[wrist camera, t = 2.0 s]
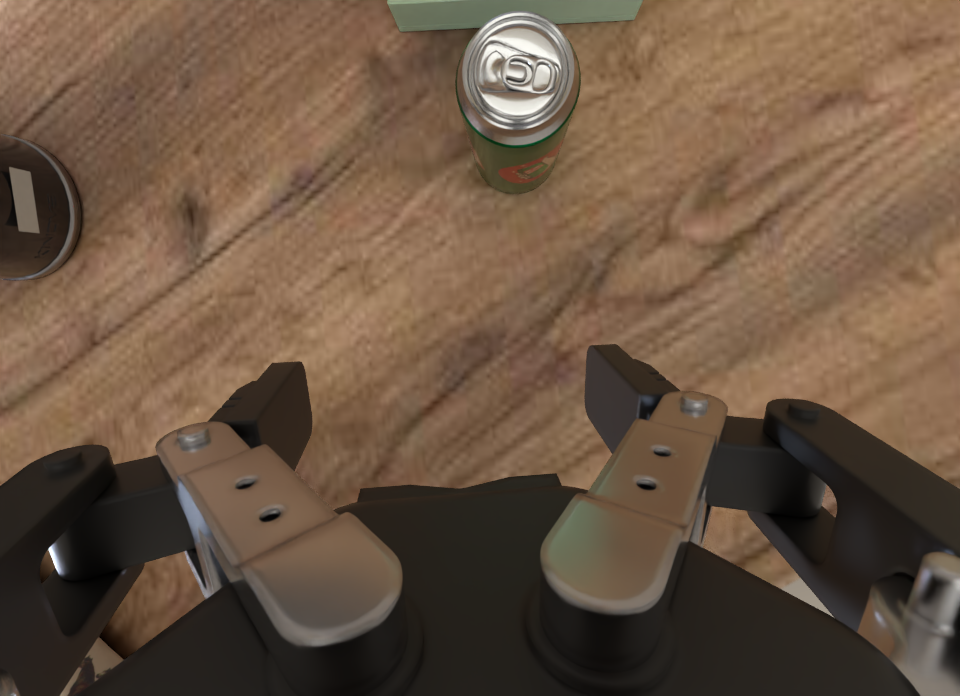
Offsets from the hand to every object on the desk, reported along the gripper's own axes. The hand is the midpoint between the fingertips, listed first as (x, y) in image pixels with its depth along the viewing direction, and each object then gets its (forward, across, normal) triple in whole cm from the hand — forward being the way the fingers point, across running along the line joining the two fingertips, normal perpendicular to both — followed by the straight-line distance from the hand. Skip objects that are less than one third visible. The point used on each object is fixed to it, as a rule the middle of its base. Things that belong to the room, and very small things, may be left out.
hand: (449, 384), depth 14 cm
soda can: (+20, -5, -7) cm, 22 cm away
